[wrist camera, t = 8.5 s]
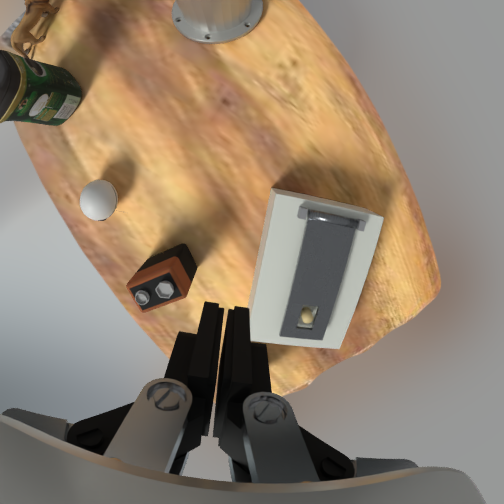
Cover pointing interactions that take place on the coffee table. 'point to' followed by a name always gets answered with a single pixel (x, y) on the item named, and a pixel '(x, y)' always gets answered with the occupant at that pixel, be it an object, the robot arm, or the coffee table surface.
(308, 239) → the clasp strap
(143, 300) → the battery
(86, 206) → the seamed sphere
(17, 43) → the lion figurine
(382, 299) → the coffee table surface
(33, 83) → the coffee jar
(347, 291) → the keepsake box
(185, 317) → the coffee table surface
